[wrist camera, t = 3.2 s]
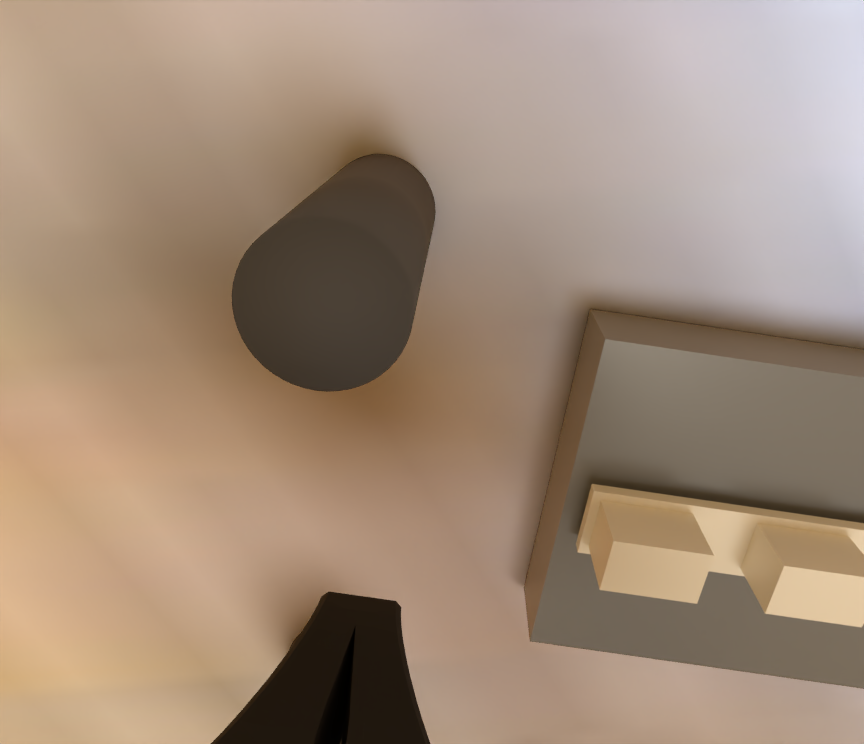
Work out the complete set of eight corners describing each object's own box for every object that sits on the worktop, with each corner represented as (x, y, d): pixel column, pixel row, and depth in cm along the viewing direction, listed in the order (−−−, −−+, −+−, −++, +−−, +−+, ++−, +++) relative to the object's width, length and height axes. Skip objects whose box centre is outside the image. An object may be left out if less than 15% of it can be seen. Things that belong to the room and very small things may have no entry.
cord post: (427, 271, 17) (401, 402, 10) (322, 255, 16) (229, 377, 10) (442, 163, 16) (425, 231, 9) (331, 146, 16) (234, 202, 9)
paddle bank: (976, 601, 17) (1030, 659, 15) (575, 544, 16) (587, 596, 15) (1007, 544, 16) (1068, 597, 14) (591, 483, 16) (605, 531, 14)
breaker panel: (885, 639, 20) (928, 697, 18) (524, 587, 20) (530, 641, 18) (1018, 372, 17) (1085, 410, 15) (590, 308, 17) (605, 339, 15)
